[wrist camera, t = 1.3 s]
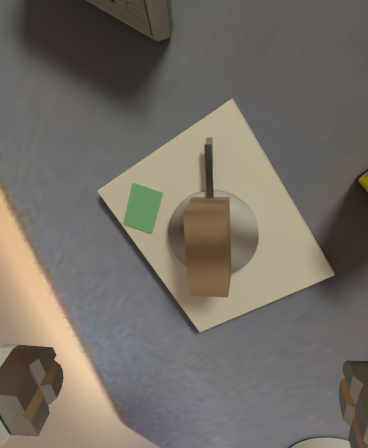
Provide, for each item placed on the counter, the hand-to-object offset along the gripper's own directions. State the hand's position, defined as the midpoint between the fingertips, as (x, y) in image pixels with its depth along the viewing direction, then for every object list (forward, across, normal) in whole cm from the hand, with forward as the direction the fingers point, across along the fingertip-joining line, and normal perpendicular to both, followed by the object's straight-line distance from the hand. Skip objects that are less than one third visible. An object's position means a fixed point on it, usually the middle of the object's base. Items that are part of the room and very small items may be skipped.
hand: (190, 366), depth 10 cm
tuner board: (+29, -2, -12) cm, 32 cm away
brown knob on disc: (+27, -2, -10) cm, 29 cm away
